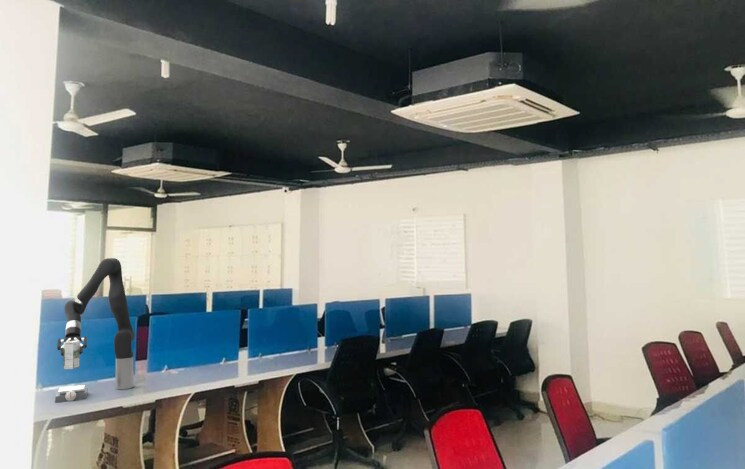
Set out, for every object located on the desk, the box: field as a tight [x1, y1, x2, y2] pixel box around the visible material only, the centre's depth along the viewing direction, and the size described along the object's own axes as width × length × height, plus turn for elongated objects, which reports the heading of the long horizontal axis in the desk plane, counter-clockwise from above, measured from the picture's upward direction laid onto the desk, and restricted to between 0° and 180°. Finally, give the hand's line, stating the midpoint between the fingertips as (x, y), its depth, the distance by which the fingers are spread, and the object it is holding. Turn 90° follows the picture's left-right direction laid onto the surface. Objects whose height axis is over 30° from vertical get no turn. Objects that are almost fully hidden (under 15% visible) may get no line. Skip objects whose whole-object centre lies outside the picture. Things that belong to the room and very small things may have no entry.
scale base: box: [54, 387, 88, 403], centre depth 287 cm, size 15×14×5 cm
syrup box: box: [62, 340, 81, 370], centre depth 289 cm, size 6×6×14 cm
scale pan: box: [57, 384, 86, 393], centre depth 287 cm, size 12×12×1 cm
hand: (71, 354), depth 288 cm, fingers closed on syrup box, 8 cm apart
